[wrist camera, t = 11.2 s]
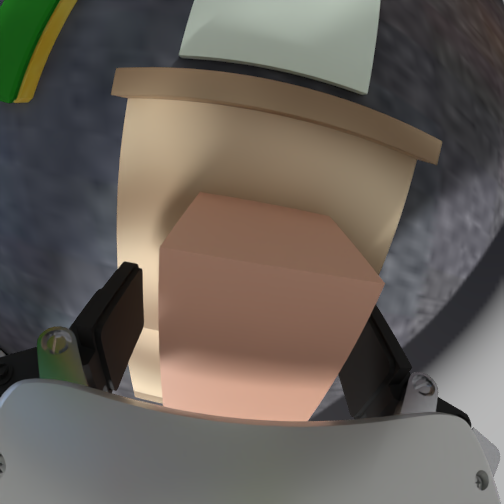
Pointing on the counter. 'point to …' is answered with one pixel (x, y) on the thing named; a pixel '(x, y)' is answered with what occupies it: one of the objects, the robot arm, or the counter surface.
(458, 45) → the counter surface
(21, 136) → the counter surface
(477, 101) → the counter surface
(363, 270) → the block
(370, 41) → the mat
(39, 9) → the dish sponge
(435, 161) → the open box
